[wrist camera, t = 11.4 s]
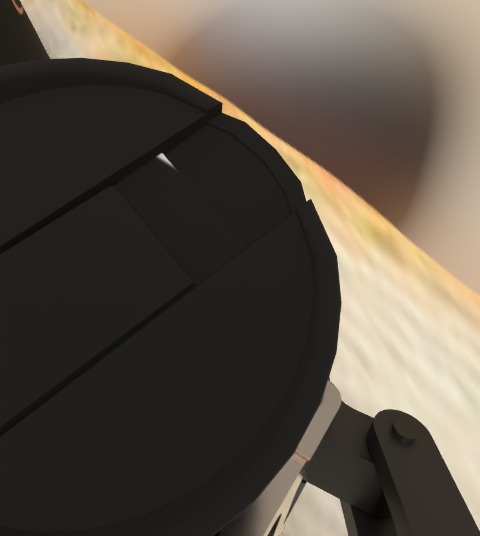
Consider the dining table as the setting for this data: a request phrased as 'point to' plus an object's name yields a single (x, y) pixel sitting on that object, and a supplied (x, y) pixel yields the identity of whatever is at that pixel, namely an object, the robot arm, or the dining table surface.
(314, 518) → the dining table surface
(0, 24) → the coffee jar
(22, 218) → the travel mug
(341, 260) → the dining table surface
